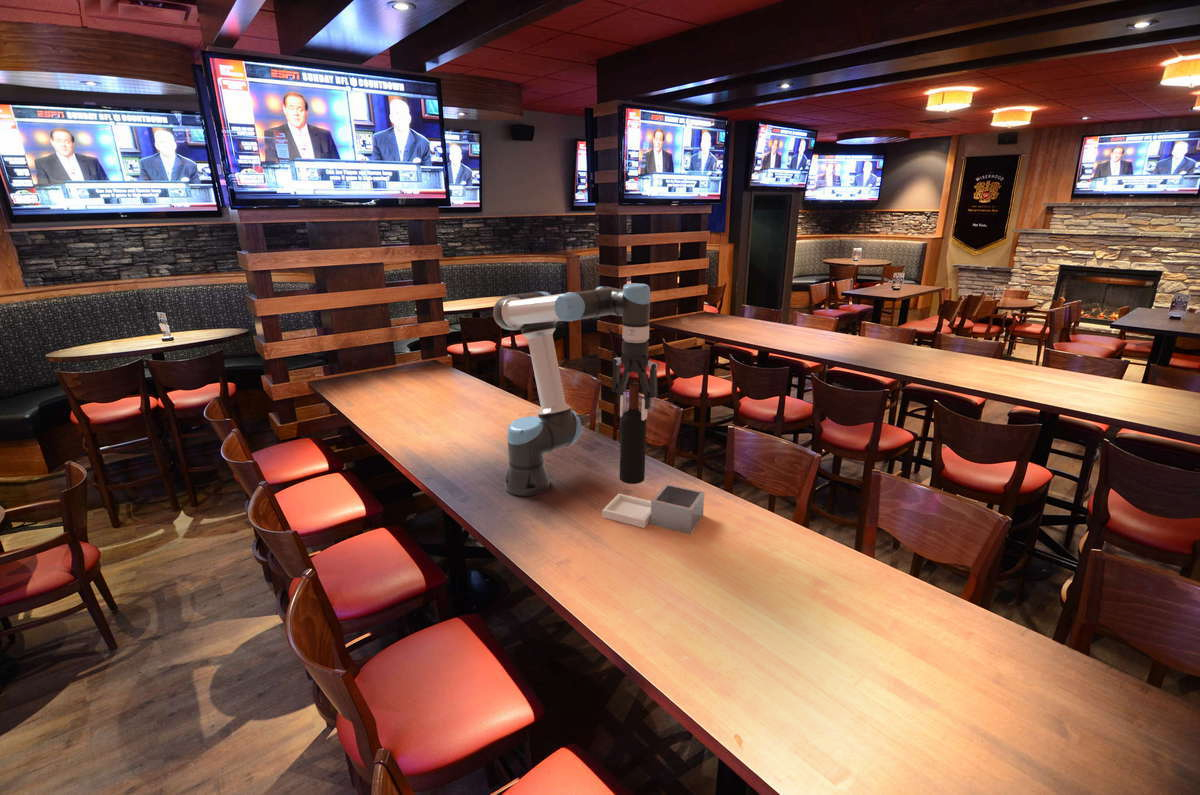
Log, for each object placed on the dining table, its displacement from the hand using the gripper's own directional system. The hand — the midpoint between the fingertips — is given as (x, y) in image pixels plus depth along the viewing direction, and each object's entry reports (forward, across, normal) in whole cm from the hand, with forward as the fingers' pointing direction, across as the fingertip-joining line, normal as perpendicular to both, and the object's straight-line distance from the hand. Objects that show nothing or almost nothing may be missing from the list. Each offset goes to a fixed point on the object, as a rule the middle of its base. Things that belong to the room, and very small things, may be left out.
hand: (633, 416), depth 169 cm
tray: (+32, 0, 0) cm, 32 cm away
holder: (+32, +14, +3) cm, 35 cm away
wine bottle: (+20, 0, 0) cm, 20 cm away
